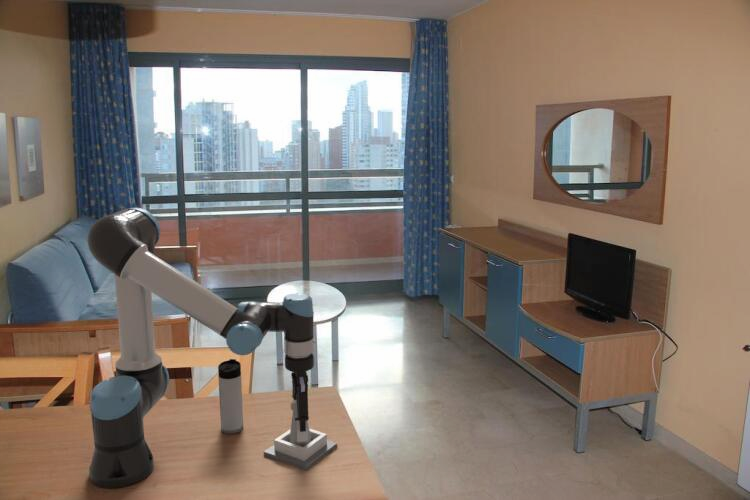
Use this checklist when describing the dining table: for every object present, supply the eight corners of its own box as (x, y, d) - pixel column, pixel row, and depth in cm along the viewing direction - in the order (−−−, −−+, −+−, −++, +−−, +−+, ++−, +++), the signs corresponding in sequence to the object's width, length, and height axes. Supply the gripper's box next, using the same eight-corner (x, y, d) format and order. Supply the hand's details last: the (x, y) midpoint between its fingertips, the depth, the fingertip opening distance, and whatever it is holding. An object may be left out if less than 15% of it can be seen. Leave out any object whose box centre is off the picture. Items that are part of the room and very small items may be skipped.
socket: (263, 454, 170) (263, 441, 169) (296, 432, 182) (296, 419, 181) (305, 470, 163) (305, 456, 162) (337, 446, 175) (337, 432, 174)
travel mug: (246, 423, 187) (243, 359, 182) (239, 434, 180) (236, 368, 176) (225, 422, 187) (222, 358, 183) (217, 433, 181) (214, 367, 176)
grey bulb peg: (310, 451, 169) (308, 404, 167) (288, 451, 169) (286, 405, 167) (312, 441, 175) (310, 396, 173) (291, 441, 175) (289, 396, 173)
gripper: (319, 366, 158) (320, 451, 163) (308, 338, 177) (309, 414, 182) (288, 369, 156) (290, 454, 161) (281, 340, 175) (282, 417, 180)
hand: (300, 433), depth 171 cm, fingers open, 7 cm apart
